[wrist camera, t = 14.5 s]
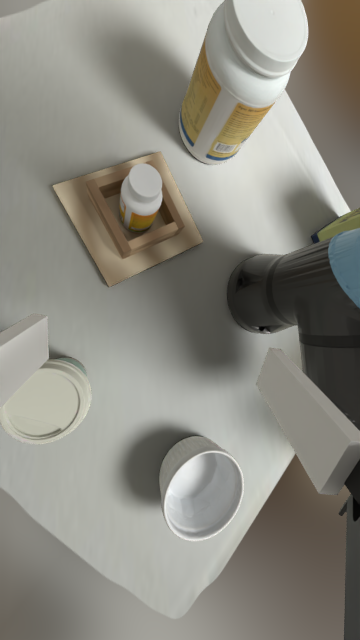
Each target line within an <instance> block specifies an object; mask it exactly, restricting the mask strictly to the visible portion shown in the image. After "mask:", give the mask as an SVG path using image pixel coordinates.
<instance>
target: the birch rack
mask: <svg viewBox="0 0 360 640" xmlns="http://www.w3.org/2000/svg"><path fill="white" fill-rule="evenodd" d="M141 163H144V164H148V165H151V166H152V167H154V168H155V169H156V170H157V171H158V172H159V174H160V176H161V179H162V188H161V190H162V203H161V206H160V208H159V210H158V212H157V215H156V217H155V219H154V222H153V224H152V226H151V227H150V228H149V229H148V230H147V231H145V232H143V233H134V232H131V231H129V230H128V229H126V228H125V227H124V226H123V224H122V223H121V221H120V218H119V205H120V195H121V187H122V183H123V181H124V179H125V178H126V177H127V176H128V175H129V172H130V170H131V169H132V167H133V166H135V165H137V164H141ZM52 186H53V188H54V190H55V192H56V194H57V196H58V198H59V199H60V201H61V203H62V205H63V206H64V208H65V210H66V212H67V214H68V215H69V217H70V219H71V221H72V223H73V224H74V226H75V228H76V230H77V231H78V233H79V235H80V237H81V239H82V240H83V242H84V244H85V246H86V247H87V249H88V251H89V253H90V255H91V256H92V258H93V260H94V262H95V263H96V265H97V267H98V269H99V271H100V272H101V274H102V276H103V278H104V279H105V281H106V283H107V285H108V287H111V286H113V285H115V284H117V283H119V282H121V281H123V280H125V279H128V278H130V277H132V276H134V275H136V274H138V273H140V272H142V271H144V270H146V269H148V268H151V267H153V266H155V265H157V264H159V263H161V262H163V261H165V260H167V259H169V258H172V257H174V256H176V255H178V254H180V253H182V252H184V251H186V250H188V249H190V248H192V247H195V246H197V245H199V244H201V243H202V242H203V240H202V237H201V235H200V233H199V231H198V229H197V227H196V225H195V223H194V221H193V219H192V216H191V214H190V212H189V210H188V208H187V206H186V204H185V202H184V200H183V198H182V195H181V193H180V191H179V189H178V187H177V185H176V183H175V181H174V179H173V176H172V174H171V172H170V170H169V168H168V166H167V164H166V162H165V160H164V158H163V155H162V153H161V151H160V152H157V153H153V154H150V155H147V156H144V157H141V158H138V159H134V160H131V161H128V162H125V163H122V164H119V165H115V166H112V167H109V168H106V169H103V170H100V171H96V172H93V173H90V174H87V175H84V176H80V177H77V178H74V179H71V180H68V181H65V182H61V183H58V184H55V185H52Z"/></svg>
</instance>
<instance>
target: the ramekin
mask: <svg viewBox="0 0 360 640" xmlns="http://www.w3.org/2000/svg"><path fill="white" fill-rule="evenodd" d="M159 485H160V492H161V506H162V512H163V515H164V518H165V521H166V523H167V525H168V527H169V528H170V530H171V531H172V532H173V533H174V534H175V535H177V536H178V537H179V538H182V539H184V540H188V541H201V540H205V539H208V538H211V537H213V536H214V535H216V534H218V533H219V532H220V531H222V530H223V529H224V528H225V527H226V526H227V525H228V524H229V523H230V521H231V520H232V519H233V517H234V516H235V514H236V512H237V510H238V508H239V506H240V503H241V500H242V497H243V491H244V480H243V474H242V471H241V468H240V466H239V464H238V463H237V461H236V460H235V459H234V458H233V456H232V455H231V454H230V453H228V452H227V451H226V450H224V449H222V448H221V447H219V446H218V445H217V444H215V443H214V442H213V441H211V440H209V439H207V438H204V437H199V436H193V437H189V438H185V439H183V440H181V441H180V442H178V443H177V444H175V445H174V446H173V447H172V448H171V449H170V450H169V452H168V453H167V455H166V456H165V458H164V460H163V462H162V465H161V469H160V474H159Z"/></svg>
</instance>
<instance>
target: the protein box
mask: <svg viewBox="0 0 360 640" xmlns="http://www.w3.org/2000/svg"><path fill="white" fill-rule="evenodd" d="M357 228H360V208H358V209H356V210H354V211H351V212H349V213H347V214H345V215H343V216H340V217H339V218H337V219H336V220H334V221H333V222H331V223H330V224H328V225H327V226H325V227H324V228H322V229H321V230H319V231H318V232H317V233H315V234H314V235H312V236H311V237H312V239H313V241H314V244H315V243H318V242H321V241H323V240H326V239H328V238H331V237H334V236H335V235H337V234H339V233H341V232H343V231H349V230H354V229H357Z"/></svg>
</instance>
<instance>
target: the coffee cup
mask: <svg viewBox="0 0 360 640" xmlns="http://www.w3.org/2000/svg"><path fill="white" fill-rule="evenodd" d="M91 398H92V392H91V387H90V383H89V381H88V379H87V375H86V370H85V368H84V366H83V365H82V364H81V363H80V362H79V361H78V360H76V359H73V358H69V357H64V358H59V359H48V360H47V361H46V362H45V363H44V364H43V365H42V366H41V367H40V368H39V369H38V370H37V371H36V372H35V373H34V374H33V375H32V376H31V377H30V378H29V379H28V380H27V381H26V382H25V383H24V384H23V385H22V386H21V387H20V388H19V389H18V390H17V391H16V392H15V394H14V395H13V396H12V397H11V398H10V399H9V400H8V401H7V402H6V403H5V404H4V405H3V406H2V407H1V408H0V423H1V425H2V427H3V429H4V430H5V431H6V432H7V433H8V434H9V435H10V436H11V437H13V438H14V439H16V440H18V441H20V442H23V443H28V444H45V443H49V442H53V441H55V440H58V439H60V438H62V437H64V436H65V435H67V434H69V433H70V432H72V431H73V430H74V429H75V428H76V427H77V426H78V425H79V424H80V423H81V422H82V420H83V419H84V418H85V416H86V414H87V412H88V410H89V408H90V404H91Z"/></svg>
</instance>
